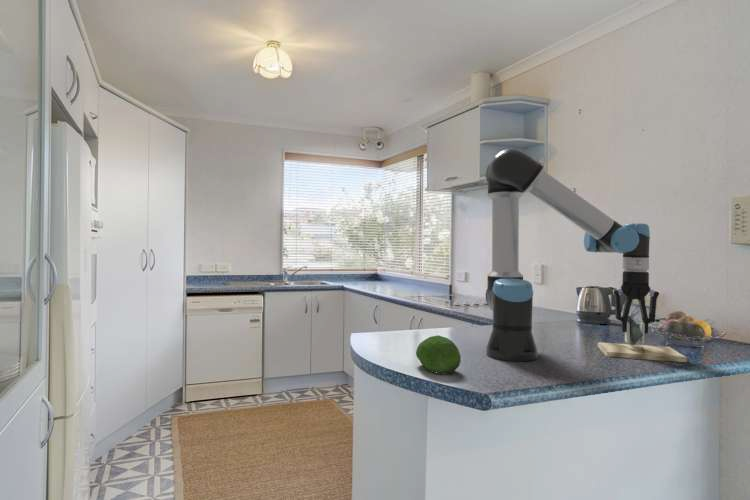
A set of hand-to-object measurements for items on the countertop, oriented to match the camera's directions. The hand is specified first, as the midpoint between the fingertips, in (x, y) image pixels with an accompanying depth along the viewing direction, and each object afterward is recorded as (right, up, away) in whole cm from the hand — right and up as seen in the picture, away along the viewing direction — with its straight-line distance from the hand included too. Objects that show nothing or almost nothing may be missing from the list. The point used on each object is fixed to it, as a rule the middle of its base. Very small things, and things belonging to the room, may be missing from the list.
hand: (634, 342), depth 153 cm
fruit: (-68, -3, -28) cm, 74 cm away
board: (+1, -4, 0) cm, 4 cm away
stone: (0, -2, 0) cm, 2 cm away
